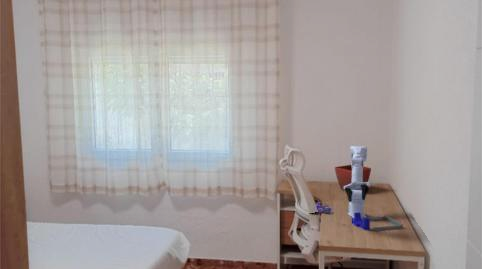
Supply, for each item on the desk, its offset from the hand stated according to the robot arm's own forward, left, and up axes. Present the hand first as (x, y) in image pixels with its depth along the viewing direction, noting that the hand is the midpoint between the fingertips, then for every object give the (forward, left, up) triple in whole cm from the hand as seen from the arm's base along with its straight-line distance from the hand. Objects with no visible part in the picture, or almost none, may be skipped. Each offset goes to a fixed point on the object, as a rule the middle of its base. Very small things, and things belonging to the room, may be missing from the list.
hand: (356, 200), depth 214 cm
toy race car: (-34, -7, -16) cm, 39 cm away
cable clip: (-4, +4, -16) cm, 17 cm away
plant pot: (-83, +37, -16) cm, 92 cm away
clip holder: (-4, +16, -15) cm, 22 cm away
